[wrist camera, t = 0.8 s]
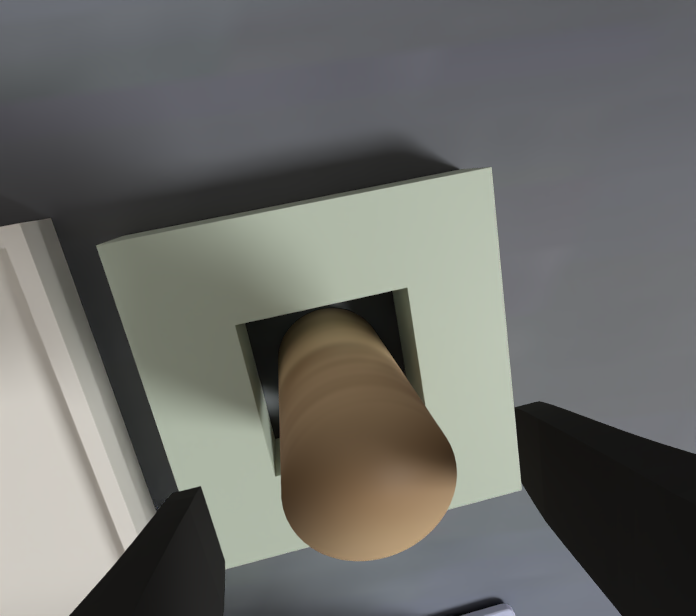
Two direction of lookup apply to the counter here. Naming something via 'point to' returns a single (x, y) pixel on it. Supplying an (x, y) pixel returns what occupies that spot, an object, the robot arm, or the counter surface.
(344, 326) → the oak pin
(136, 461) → the tray
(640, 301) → the counter surface
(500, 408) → the pin holder
